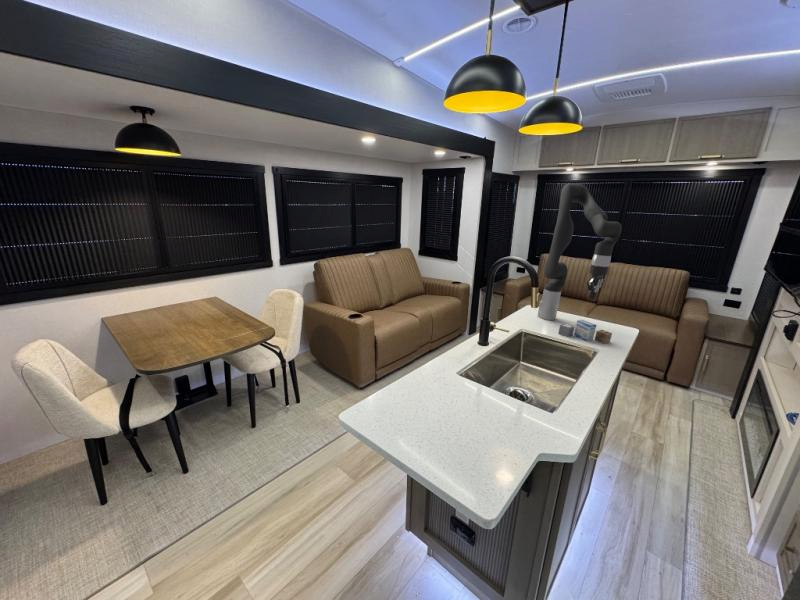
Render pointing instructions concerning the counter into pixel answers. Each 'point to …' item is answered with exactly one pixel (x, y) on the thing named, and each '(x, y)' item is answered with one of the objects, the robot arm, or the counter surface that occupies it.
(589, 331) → the medicine box
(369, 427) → the counter surface
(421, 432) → the counter surface
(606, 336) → the walnut block
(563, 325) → the slate block
